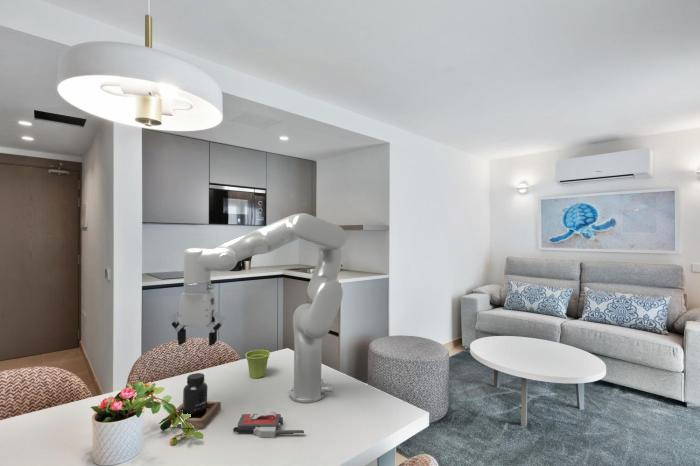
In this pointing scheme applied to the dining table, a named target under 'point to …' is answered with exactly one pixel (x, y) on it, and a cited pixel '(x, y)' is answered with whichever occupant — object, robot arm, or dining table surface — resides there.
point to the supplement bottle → (195, 396)
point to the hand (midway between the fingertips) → (197, 344)
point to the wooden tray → (202, 422)
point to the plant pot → (257, 362)
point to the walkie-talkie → (262, 425)
